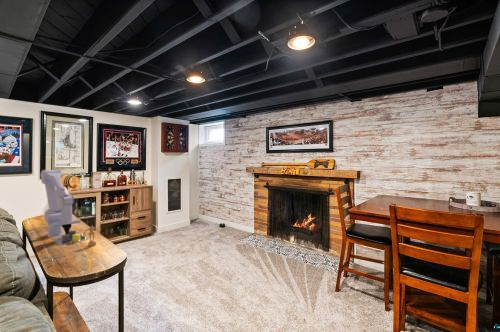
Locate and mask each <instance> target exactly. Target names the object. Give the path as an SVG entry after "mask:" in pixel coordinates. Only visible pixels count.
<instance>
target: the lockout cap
mask: <svg viewBox="0 0 500 332" xmlns="http://www.w3.org/2000/svg"><path fill="white" fill-rule="evenodd" d="M79 241H80V234H77V233H76V234H73V235H72V242H76V243H79ZM80 242H81V241H80Z"/></svg>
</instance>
